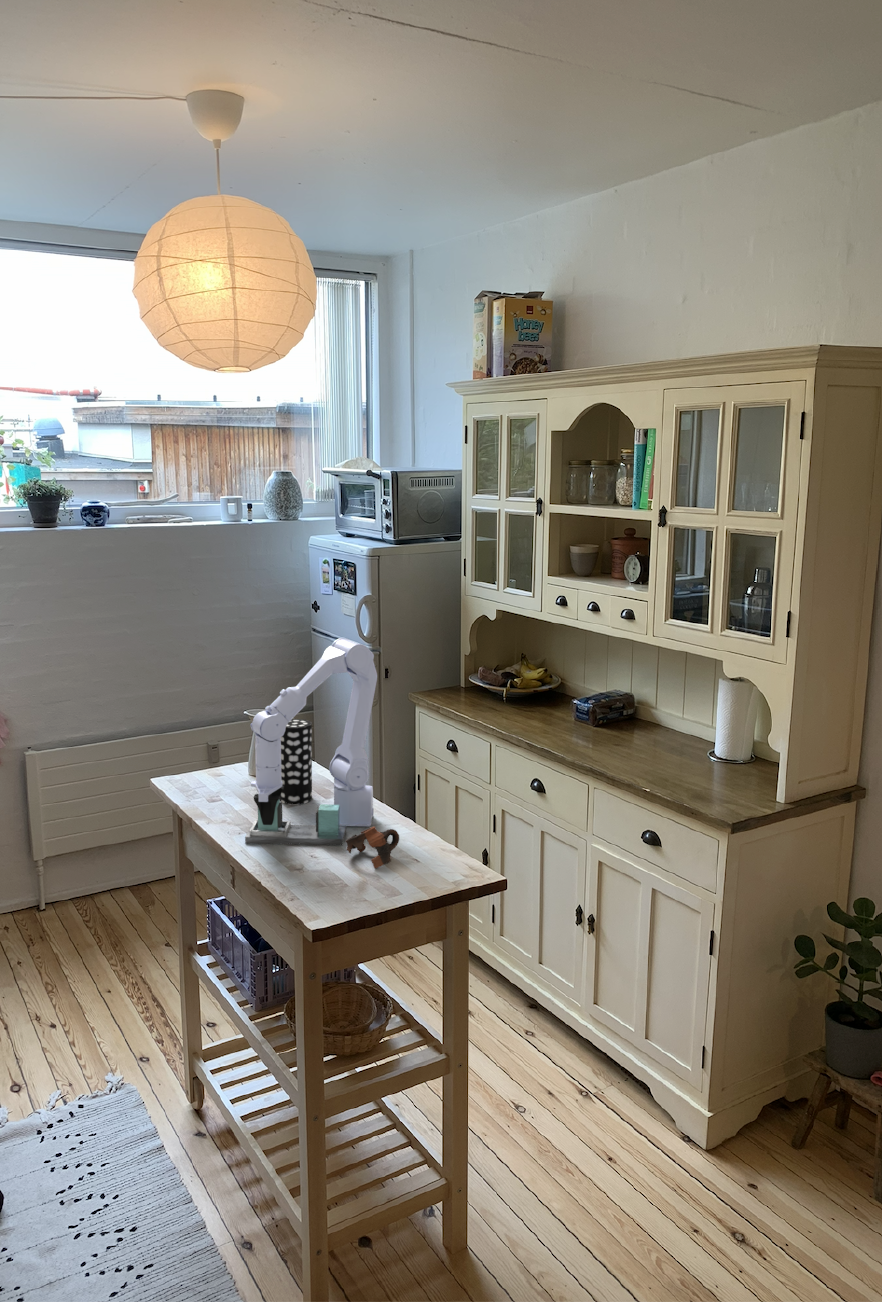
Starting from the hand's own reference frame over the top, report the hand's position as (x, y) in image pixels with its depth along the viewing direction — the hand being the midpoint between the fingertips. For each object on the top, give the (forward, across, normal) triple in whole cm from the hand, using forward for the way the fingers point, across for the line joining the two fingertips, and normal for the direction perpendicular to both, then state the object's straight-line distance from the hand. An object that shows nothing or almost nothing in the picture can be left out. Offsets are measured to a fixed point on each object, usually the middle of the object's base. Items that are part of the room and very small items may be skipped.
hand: (269, 820), depth 223 cm
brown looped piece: (+4, +11, +25) cm, 27 cm away
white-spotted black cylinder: (+4, -25, +2) cm, 25 cm away
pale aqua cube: (+2, 0, 0) cm, 2 cm away
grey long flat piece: (+4, 0, +6) cm, 7 cm away
